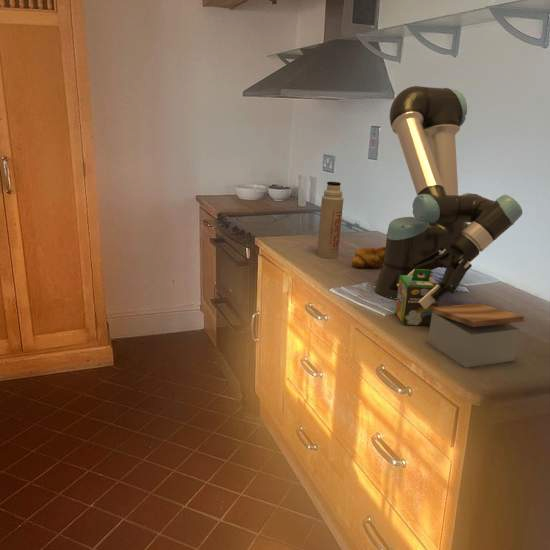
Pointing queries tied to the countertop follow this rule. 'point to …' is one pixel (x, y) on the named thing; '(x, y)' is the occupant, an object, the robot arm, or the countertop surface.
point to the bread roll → (369, 257)
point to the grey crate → (473, 341)
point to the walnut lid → (477, 314)
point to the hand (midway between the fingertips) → (410, 296)
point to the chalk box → (415, 298)
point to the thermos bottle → (330, 221)
